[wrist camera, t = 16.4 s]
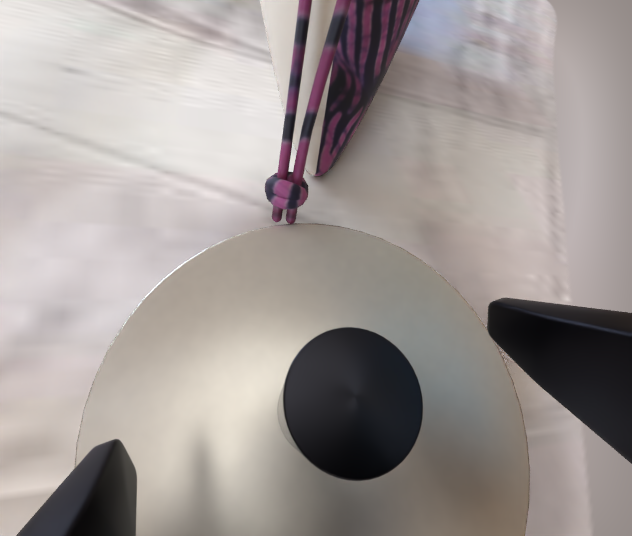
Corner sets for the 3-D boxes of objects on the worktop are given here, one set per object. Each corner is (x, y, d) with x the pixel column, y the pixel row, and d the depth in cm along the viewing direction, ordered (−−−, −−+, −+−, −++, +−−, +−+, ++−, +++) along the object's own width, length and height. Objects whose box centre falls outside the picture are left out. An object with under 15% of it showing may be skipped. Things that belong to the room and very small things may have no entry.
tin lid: (510, 777, 9) (938, 1404, 3) (-20, 622, 9) (-534, 975, 3) (505, 288, 15) (641, 210, 10) (204, 200, 15) (166, 70, 10)
